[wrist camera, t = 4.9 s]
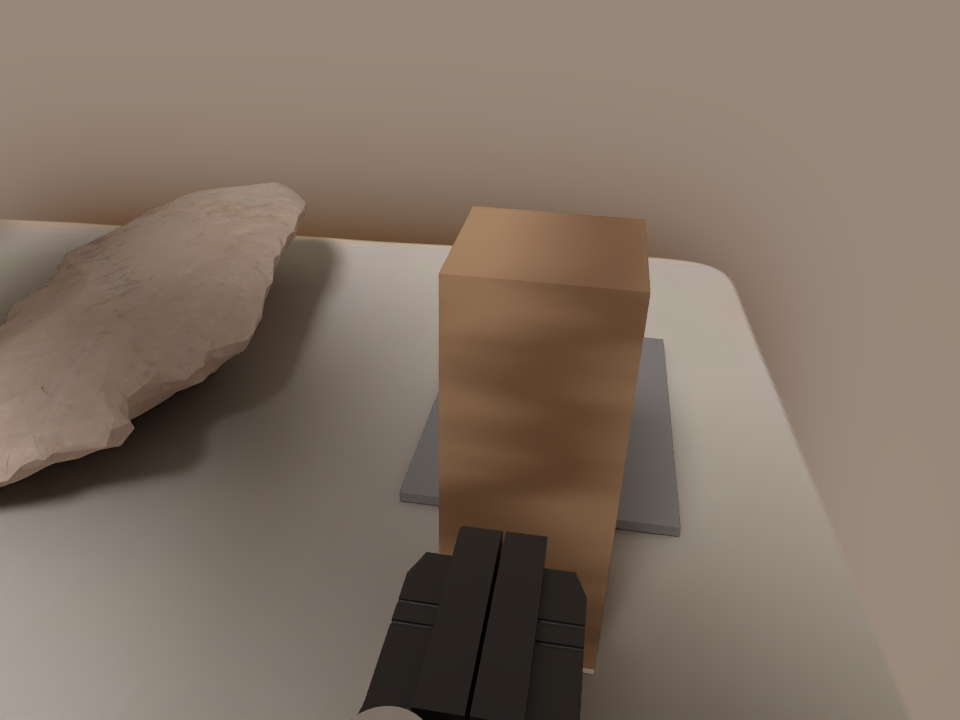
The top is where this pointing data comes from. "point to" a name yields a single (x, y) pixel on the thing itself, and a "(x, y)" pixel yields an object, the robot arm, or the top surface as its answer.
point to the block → (541, 383)
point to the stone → (137, 321)
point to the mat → (646, 466)
